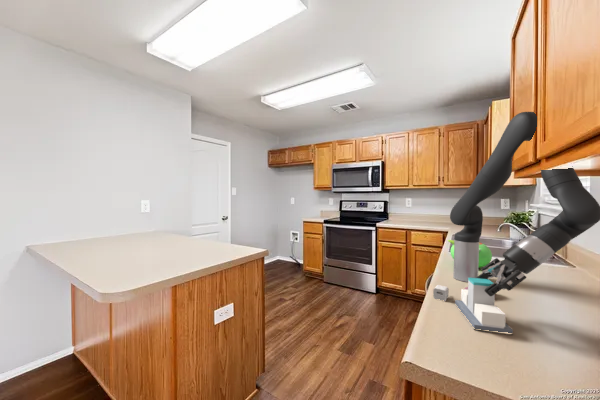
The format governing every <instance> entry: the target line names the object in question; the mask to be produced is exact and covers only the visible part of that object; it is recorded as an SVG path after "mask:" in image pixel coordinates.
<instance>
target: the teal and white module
mask: <svg viewBox="0 0 600 400" xmlns="http://www.w3.org/2000/svg"><path fill="white" fill-rule="evenodd" d="M493 283H494V282H493V281H492V280H491V279H490V278H488V279H479V278H468V282H467V287H468V308H469V309H470V310H471V312H472V313H474V309H475V304H484V305H493V306H495V301H496V299H495V298H496V295H495V294H494V295H493V296H489V295H488V294H487V293H486V292H485V291H484V290H485V289H486V288H487V287H489V286H490V285H491V284H493Z"/></svg>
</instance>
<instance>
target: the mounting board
mask: <svg viewBox="0 0 600 400" xmlns="http://www.w3.org/2000/svg"><path fill="white" fill-rule="evenodd" d="M460 290H461V291H460V292H461V293H460V299H459V300H458V299H455V300H454V305H455V304H456V305H457V306H458V307H457V306H456V305H455V306H456V307H457V309H458V308H459V309H460V310H461V311H460V310H459V309H458V310H459V311H460V313H461V312H462V313H463V314H464V315H465V316H466V318H467V319H468V320H469V322H470V323H471V324H472V326H473V327H474V328H475V329H481V330H489V331H498V332H508V333H514V332H513V331H514V329H513V328H512V327H511V326H509V325H508V324H507V322H506V313H505V312H504V311H502V310H501V308H499V307H498V306H497V305H494V306H493V305H484V304H475V309H474V313H472V312H471V310H470V309H469V308H468V290H466V289H465V288H460ZM462 313H461V314H462ZM463 314H462V315H463ZM464 315H463V316H464ZM466 318H465V319H466ZM467 319H466V320H467ZM469 322H468V323H469ZM472 326H471V327H472Z"/></svg>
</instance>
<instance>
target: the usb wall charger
mask: <svg viewBox="0 0 600 400" xmlns="http://www.w3.org/2000/svg"><path fill="white" fill-rule="evenodd" d="M449 290H450V289H449V287H448V286H445V285H440V284H437V285H436V286H435V287H434V288H433V290H432V291H433V295H432V296H433V299H434V300H437V299H440V300H439V301H441V300H444V301H443V302H446V301H447V299H448V297H449Z"/></svg>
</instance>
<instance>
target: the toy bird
mask: <svg viewBox="0 0 600 400" xmlns="http://www.w3.org/2000/svg"><path fill="white" fill-rule="evenodd" d="M447 242H448V243H450V244H452V245H451V248H450V256H451V258H452V259H453V260H454V239H447ZM492 259H493V254H492V250H490V247H489V246H487V245H486V244H484V243H482V242H480V241H479V268H483V267H484V266H486V265H487V264H489V263H490V262H491V261H492Z"/></svg>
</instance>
